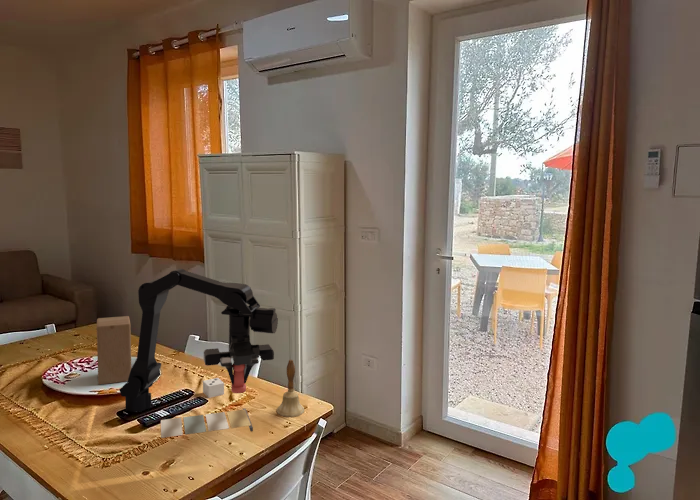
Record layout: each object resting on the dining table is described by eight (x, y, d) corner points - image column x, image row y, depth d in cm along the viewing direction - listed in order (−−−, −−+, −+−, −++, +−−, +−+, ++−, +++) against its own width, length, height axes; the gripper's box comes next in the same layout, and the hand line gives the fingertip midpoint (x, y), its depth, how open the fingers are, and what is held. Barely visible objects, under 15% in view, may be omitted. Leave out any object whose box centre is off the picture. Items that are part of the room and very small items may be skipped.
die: (208, 401, 154) (208, 386, 154) (202, 395, 158) (202, 380, 158) (224, 398, 157) (224, 382, 156) (218, 392, 161) (218, 377, 160)
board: (159, 444, 129) (159, 439, 129) (159, 422, 140) (159, 418, 140) (252, 430, 138) (252, 426, 137) (245, 411, 149) (245, 407, 148)
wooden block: (131, 381, 167) (130, 323, 164) (98, 385, 162) (96, 326, 160) (130, 370, 176) (129, 315, 173) (98, 374, 171) (96, 317, 168)
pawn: (232, 394, 138) (232, 363, 137) (230, 388, 142) (230, 358, 140) (246, 392, 139) (247, 361, 138) (244, 386, 143) (245, 356, 142)
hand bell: (282, 419, 145) (283, 366, 143) (272, 407, 152) (274, 357, 150) (308, 414, 149) (310, 363, 147) (298, 402, 156) (299, 353, 154)
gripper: (207, 341, 127) (207, 399, 130) (279, 336, 134) (277, 391, 136) (203, 329, 138) (203, 382, 140) (270, 324, 144) (269, 376, 147)
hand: (238, 383), depth 140 cm, fingers closed on pawn, 3 cm apart
